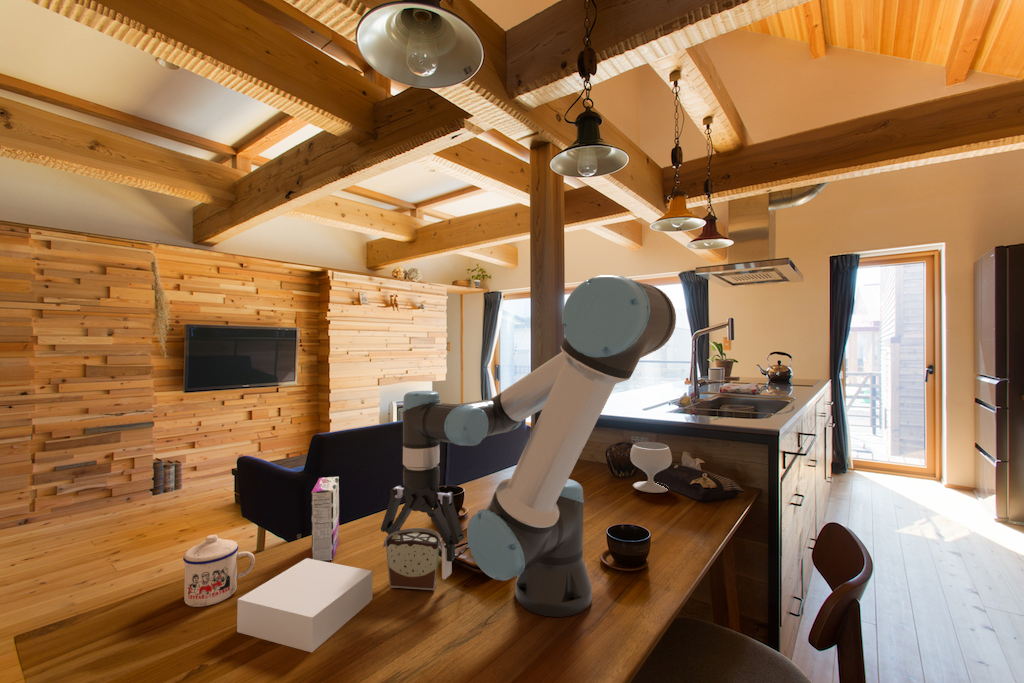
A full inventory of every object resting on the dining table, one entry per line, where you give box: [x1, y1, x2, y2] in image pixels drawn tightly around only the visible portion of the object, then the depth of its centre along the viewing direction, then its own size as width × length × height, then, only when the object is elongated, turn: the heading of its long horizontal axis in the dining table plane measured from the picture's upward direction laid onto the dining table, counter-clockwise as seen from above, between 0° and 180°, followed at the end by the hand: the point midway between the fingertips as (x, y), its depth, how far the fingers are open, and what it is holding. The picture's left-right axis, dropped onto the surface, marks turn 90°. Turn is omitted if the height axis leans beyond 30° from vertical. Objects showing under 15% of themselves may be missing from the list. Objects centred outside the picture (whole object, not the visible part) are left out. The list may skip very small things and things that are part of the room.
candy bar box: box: [311, 476, 340, 562], centre depth 109 cm, size 11×5×16 cm, turn 14°
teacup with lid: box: [182, 534, 256, 608], centre depth 90 cm, size 12×9×12 cm
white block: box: [236, 557, 374, 653], centre depth 83 cm, size 16×16×6 cm
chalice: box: [629, 441, 673, 494], centre depth 159 cm, size 14×14×15 cm
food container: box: [382, 527, 444, 591], centre depth 95 cm, size 12×6×10 cm, turn 83°
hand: (421, 570), depth 94 cm, fingers closed on food container, 11 cm apart
